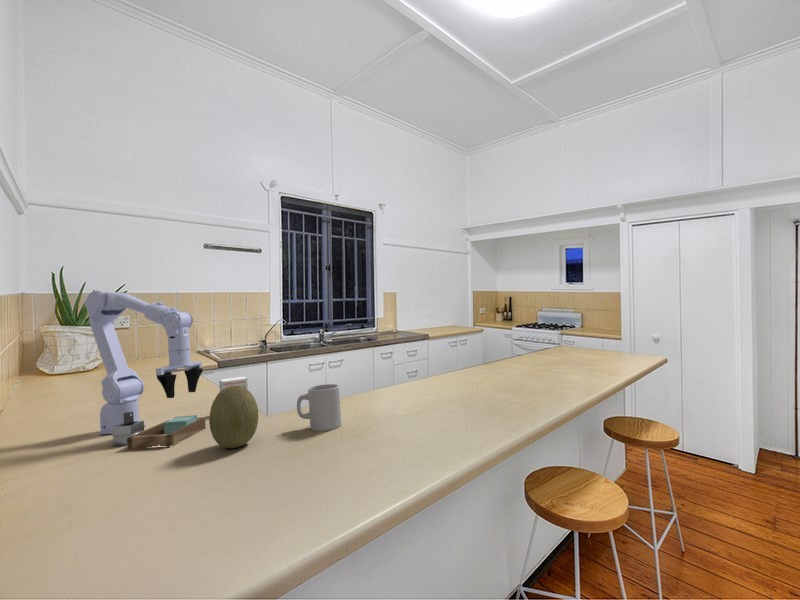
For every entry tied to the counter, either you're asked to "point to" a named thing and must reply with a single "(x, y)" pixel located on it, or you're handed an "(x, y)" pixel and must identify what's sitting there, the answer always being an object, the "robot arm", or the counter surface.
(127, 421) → the pin
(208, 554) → the counter surface
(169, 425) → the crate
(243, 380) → the ink box
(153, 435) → the bay
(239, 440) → the fruit
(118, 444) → the grey piece
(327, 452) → the counter surface
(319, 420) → the mug
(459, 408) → the counter surface
